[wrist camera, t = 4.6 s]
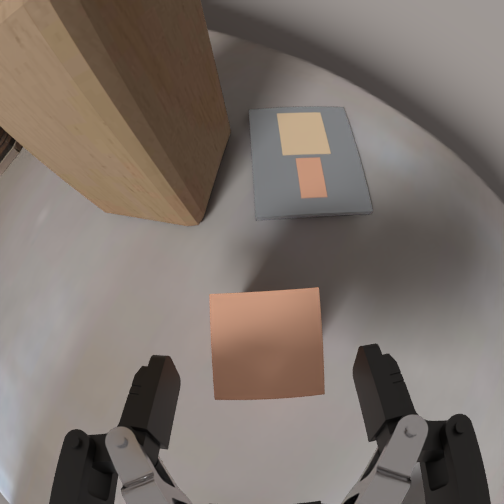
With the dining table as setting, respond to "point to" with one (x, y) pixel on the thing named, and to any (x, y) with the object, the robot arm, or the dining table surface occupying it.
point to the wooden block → (117, 100)
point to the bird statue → (7, 149)
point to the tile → (305, 164)
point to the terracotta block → (267, 344)
